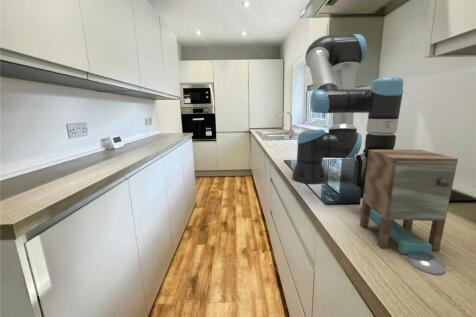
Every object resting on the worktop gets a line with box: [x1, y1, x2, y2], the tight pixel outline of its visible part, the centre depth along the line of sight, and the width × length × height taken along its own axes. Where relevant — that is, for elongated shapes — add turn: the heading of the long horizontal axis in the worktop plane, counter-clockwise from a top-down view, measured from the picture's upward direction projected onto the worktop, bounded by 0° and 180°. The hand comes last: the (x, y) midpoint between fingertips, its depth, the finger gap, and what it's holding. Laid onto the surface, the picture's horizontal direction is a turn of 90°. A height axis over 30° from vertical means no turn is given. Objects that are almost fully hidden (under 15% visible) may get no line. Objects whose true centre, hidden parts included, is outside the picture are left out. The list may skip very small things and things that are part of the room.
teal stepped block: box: [359, 206, 433, 255], centre depth 60 cm, size 23×6×10 cm, turn 175°
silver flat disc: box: [407, 251, 446, 276], centre depth 47 cm, size 6×6×2 cm
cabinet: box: [359, 149, 459, 252], centre depth 54 cm, size 13×13×22 cm
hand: (371, 207), depth 70 cm, fingers closed on teal stepped block, 4 cm apart
